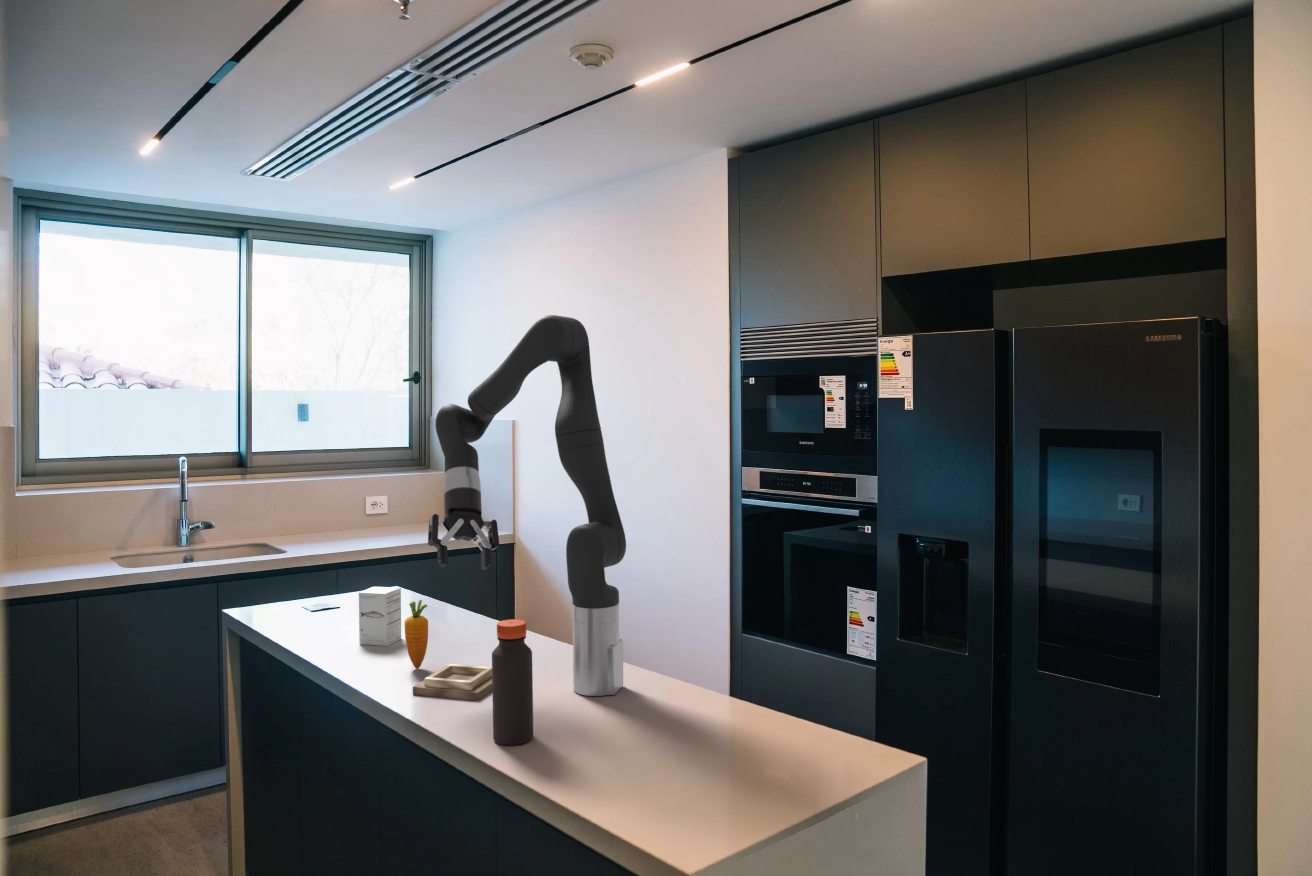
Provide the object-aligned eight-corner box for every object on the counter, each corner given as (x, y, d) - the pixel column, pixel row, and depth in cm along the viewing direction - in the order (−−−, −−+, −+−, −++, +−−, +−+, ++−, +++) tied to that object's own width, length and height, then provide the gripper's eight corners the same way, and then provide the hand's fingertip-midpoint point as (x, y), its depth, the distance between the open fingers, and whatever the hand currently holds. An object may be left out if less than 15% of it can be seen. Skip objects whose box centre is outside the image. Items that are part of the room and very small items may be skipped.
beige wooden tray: (504, 681, 184) (504, 666, 184) (477, 700, 172) (477, 684, 172) (443, 675, 188) (443, 661, 188) (412, 694, 176) (412, 679, 176)
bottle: (528, 729, 157) (526, 616, 156) (537, 742, 151) (535, 625, 150) (489, 734, 155) (487, 620, 154) (497, 749, 148) (495, 629, 148)
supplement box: (358, 645, 212) (357, 592, 211) (375, 636, 219) (374, 585, 219) (386, 646, 210) (385, 593, 210) (402, 638, 217) (401, 586, 217)
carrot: (420, 663, 196) (418, 596, 196) (434, 668, 193) (432, 599, 192) (400, 669, 192) (399, 600, 192) (414, 673, 189) (413, 603, 189)
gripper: (435, 482, 181) (436, 558, 174) (501, 489, 188) (505, 563, 181) (423, 496, 186) (424, 571, 179) (488, 503, 193) (491, 575, 186)
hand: (464, 567), depth 180 cm, fingers open, 8 cm apart
